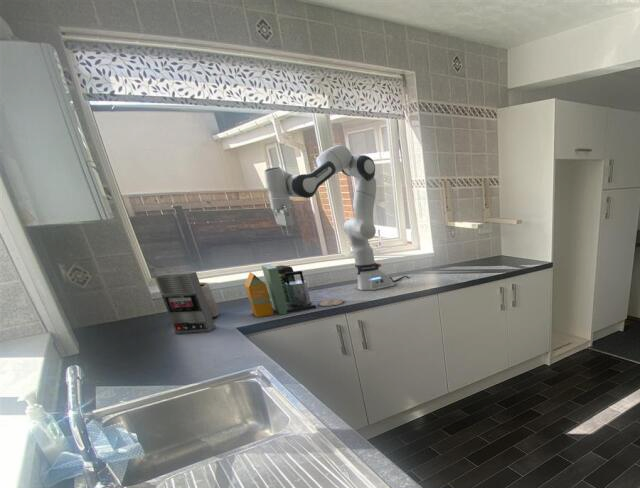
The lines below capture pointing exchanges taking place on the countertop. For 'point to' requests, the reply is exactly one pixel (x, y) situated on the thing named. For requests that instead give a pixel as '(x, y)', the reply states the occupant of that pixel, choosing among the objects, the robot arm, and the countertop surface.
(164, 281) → the cassette tape recorder
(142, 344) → the countertop surface
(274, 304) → the coffee maker
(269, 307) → the orange juice
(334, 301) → the cork mat
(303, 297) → the grey box with handle
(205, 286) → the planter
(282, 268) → the coffee jar
